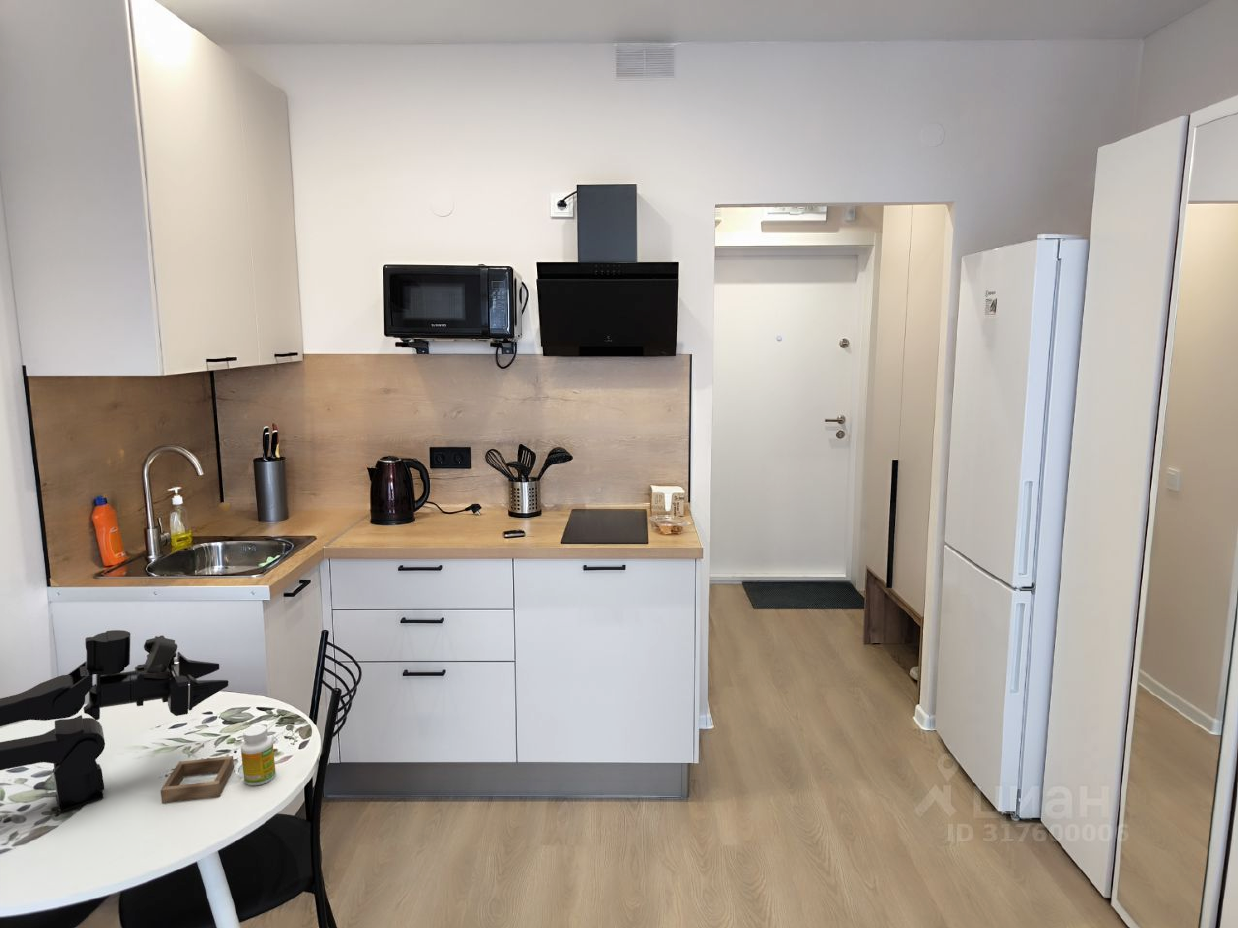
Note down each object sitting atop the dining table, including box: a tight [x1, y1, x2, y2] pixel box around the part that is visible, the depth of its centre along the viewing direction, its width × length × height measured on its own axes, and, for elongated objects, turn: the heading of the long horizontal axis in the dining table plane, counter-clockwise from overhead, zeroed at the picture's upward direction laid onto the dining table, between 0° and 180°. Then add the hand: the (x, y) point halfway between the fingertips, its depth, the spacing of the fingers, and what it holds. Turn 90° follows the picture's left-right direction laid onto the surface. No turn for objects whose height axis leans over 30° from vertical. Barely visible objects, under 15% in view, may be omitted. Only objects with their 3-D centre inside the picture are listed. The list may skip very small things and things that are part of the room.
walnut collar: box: [160, 755, 235, 804], centre depth 147 cm, size 10×10×2 cm
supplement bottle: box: [240, 724, 276, 786], centre depth 149 cm, size 5×5×10 cm
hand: (223, 674), depth 156 cm, fingers open, 9 cm apart
